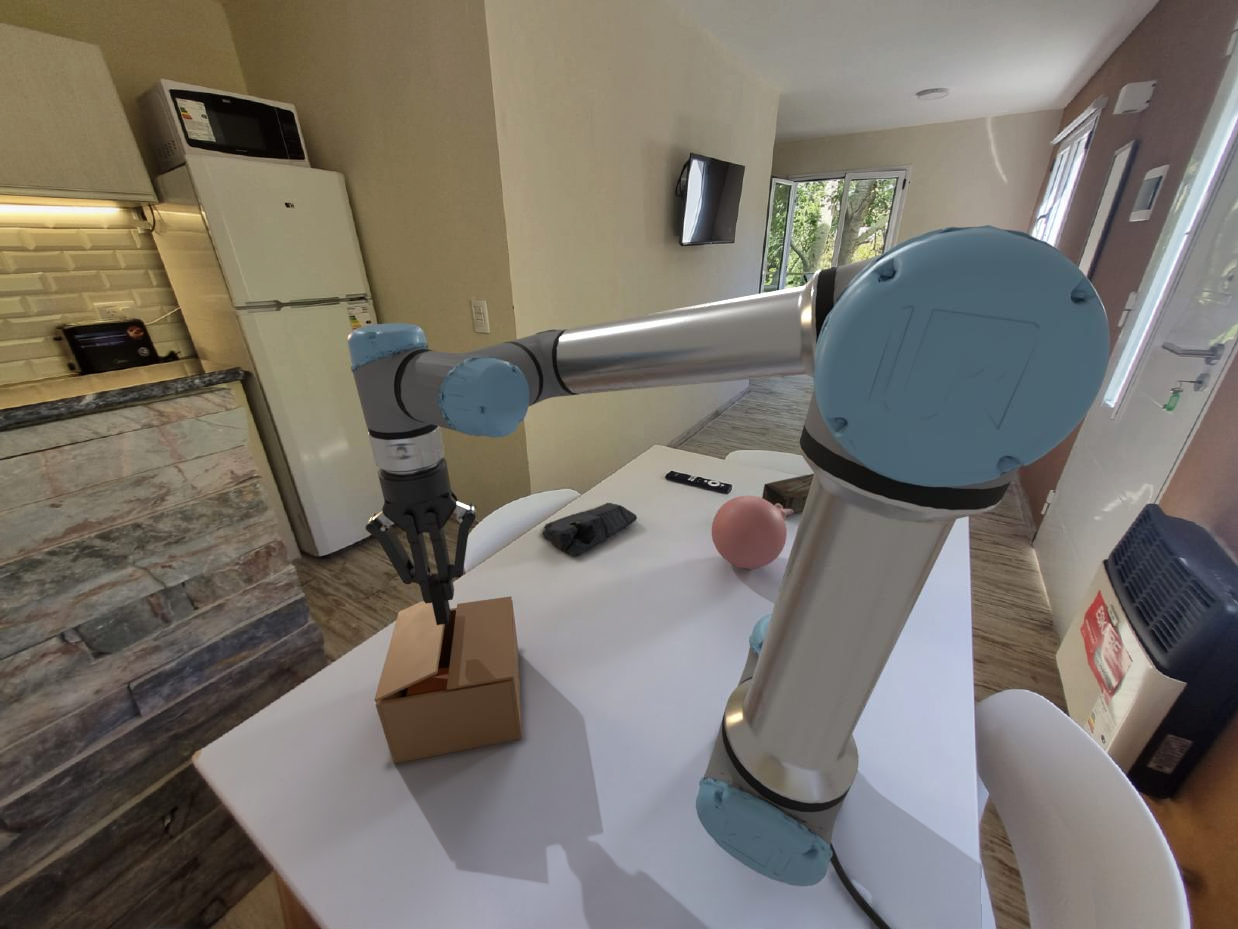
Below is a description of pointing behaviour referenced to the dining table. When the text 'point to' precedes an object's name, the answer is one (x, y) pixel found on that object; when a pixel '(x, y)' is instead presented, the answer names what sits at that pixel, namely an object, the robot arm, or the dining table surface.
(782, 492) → the brown wooden block
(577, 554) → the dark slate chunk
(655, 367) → the robot arm
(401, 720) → the box
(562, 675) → the dining table surface
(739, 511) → the balloon
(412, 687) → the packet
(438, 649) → the flap
